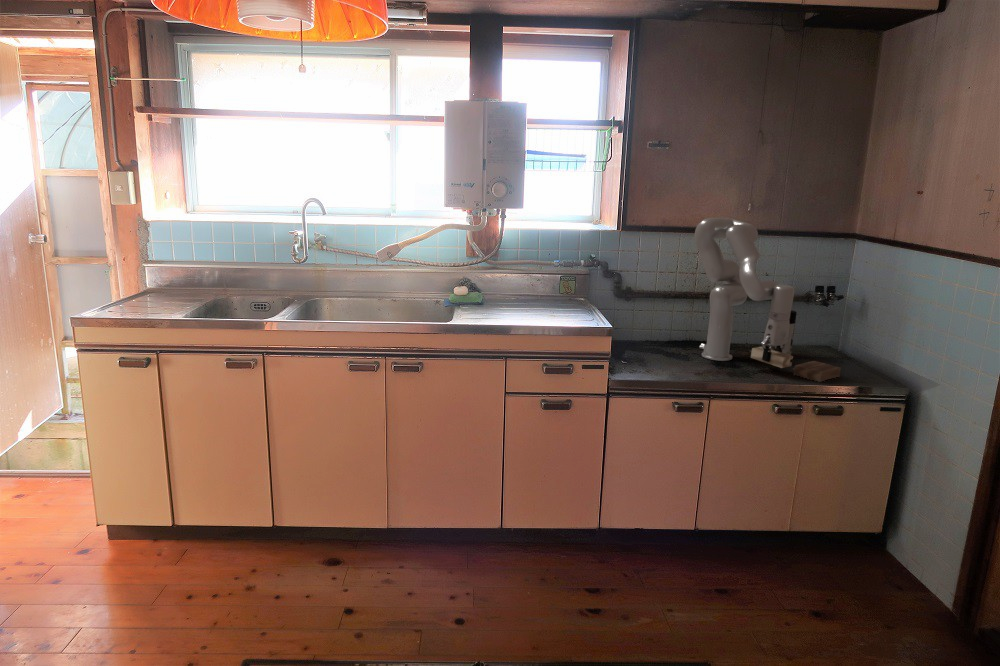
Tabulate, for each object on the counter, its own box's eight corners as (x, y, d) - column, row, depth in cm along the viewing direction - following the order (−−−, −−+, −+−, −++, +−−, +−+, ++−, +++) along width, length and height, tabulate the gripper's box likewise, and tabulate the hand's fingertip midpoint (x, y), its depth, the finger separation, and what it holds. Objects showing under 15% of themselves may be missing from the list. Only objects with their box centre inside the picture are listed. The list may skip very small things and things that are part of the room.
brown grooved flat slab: (790, 374, 260) (792, 364, 259) (810, 369, 267) (811, 359, 266) (819, 382, 250) (821, 372, 249) (839, 377, 258) (840, 367, 257)
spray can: (792, 357, 284) (798, 313, 279) (775, 356, 285) (782, 311, 281) (788, 353, 290) (795, 309, 286) (772, 352, 292) (778, 308, 287)
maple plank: (781, 368, 253) (783, 358, 252) (750, 357, 264) (752, 348, 263) (791, 365, 257) (793, 356, 256) (760, 355, 268) (761, 346, 267)
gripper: (774, 320, 247) (766, 365, 252) (800, 316, 257) (792, 359, 262) (757, 316, 253) (749, 359, 258) (783, 312, 263) (775, 354, 268)
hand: (771, 359), depth 260 cm, fingers closed on maple plank, 6 cm apart
